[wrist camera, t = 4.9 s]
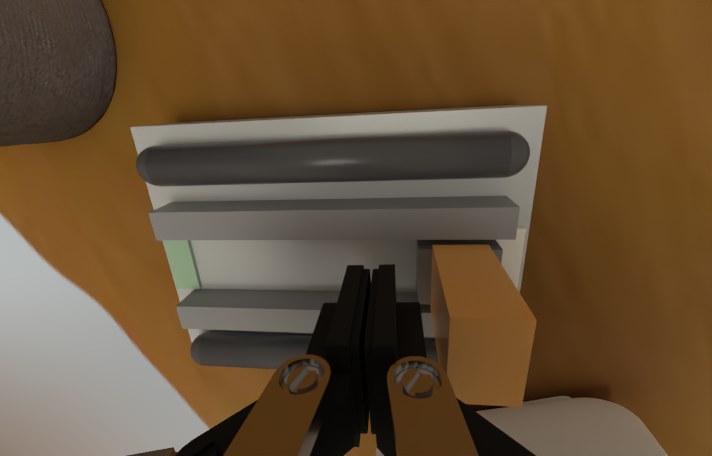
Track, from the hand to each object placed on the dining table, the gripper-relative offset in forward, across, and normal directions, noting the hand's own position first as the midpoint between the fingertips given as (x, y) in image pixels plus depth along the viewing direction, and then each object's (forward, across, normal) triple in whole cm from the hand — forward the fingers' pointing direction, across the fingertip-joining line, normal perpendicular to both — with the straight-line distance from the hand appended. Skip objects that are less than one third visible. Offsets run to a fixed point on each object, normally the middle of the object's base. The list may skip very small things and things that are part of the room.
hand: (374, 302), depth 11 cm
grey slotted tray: (+6, +2, 0) cm, 7 cm away
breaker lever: (+3, -3, 0) cm, 4 cm away
